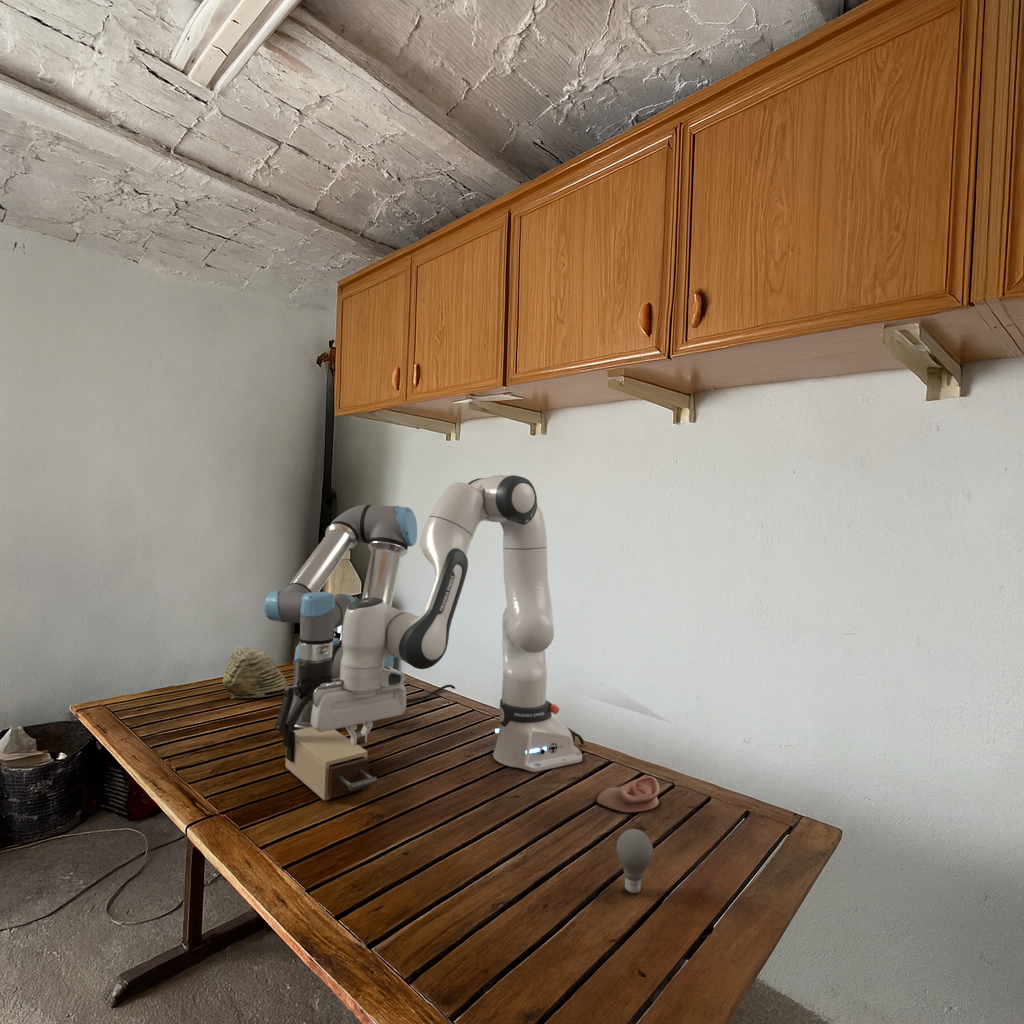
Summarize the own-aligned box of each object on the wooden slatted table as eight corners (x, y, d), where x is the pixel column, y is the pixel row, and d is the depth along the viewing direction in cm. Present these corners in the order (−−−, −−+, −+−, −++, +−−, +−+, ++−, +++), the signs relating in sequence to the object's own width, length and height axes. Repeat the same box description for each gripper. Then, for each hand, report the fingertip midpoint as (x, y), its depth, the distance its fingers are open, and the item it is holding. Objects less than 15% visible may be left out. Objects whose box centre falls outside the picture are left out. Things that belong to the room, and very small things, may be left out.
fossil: (218, 695, 195) (220, 647, 195) (278, 685, 208) (279, 640, 207) (228, 703, 189) (230, 653, 188) (289, 692, 201) (290, 645, 201)
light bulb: (610, 879, 108) (613, 822, 108) (644, 879, 109) (647, 822, 109) (619, 902, 102) (622, 840, 102) (655, 901, 103) (658, 840, 103)
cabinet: (366, 788, 139) (367, 751, 138) (324, 800, 132) (325, 762, 132) (324, 756, 154) (326, 723, 154) (285, 766, 147) (286, 732, 147)
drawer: (382, 798, 132) (383, 768, 132) (344, 810, 127) (345, 779, 126) (328, 757, 151) (329, 731, 151) (293, 766, 146) (294, 739, 145)
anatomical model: (596, 789, 133) (599, 767, 145) (595, 808, 134) (599, 785, 145) (660, 798, 131) (659, 775, 142) (659, 817, 131) (658, 792, 142)
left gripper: (273, 669, 137) (270, 771, 138) (366, 656, 152) (363, 748, 153) (261, 662, 143) (257, 760, 143) (352, 650, 158) (348, 738, 158)
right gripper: (320, 688, 122) (317, 760, 122) (411, 674, 135) (408, 738, 136) (307, 680, 126) (303, 749, 127) (396, 667, 140) (393, 729, 140)
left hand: (311, 754), depth 148 cm, fingers closed on cabinet, 10 cm apart
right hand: (358, 743), depth 131 cm, fingers closed
